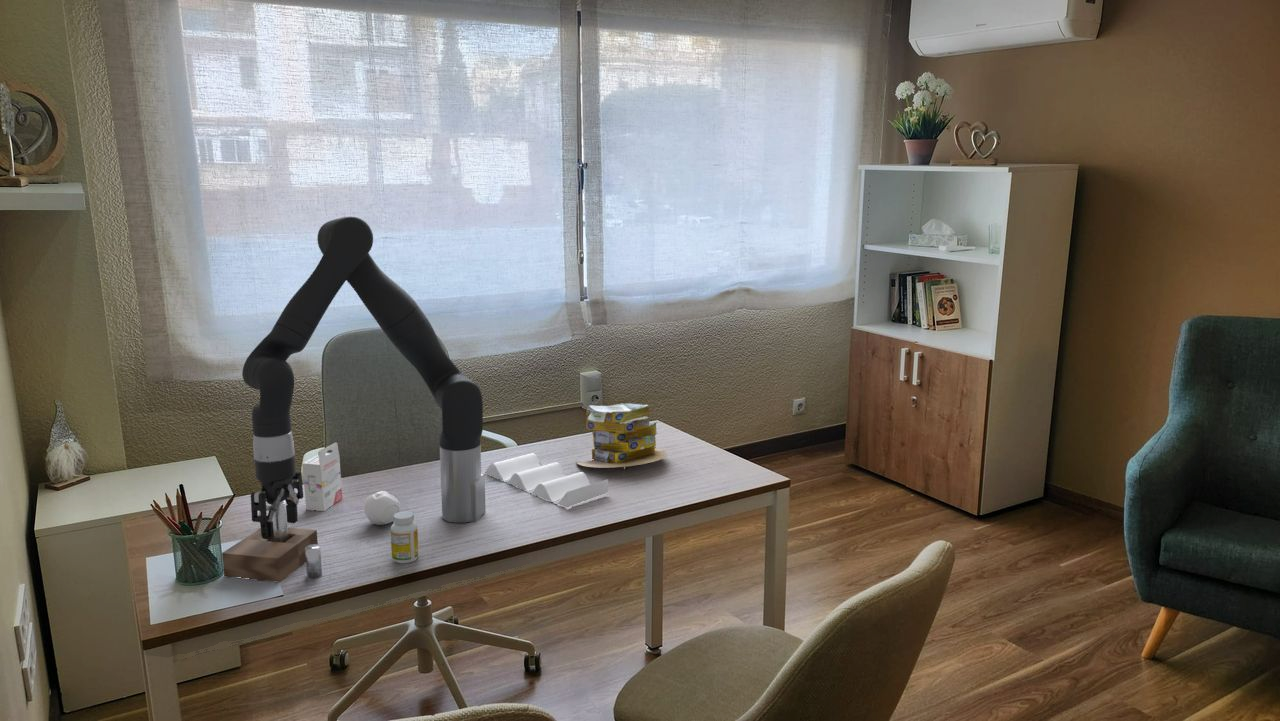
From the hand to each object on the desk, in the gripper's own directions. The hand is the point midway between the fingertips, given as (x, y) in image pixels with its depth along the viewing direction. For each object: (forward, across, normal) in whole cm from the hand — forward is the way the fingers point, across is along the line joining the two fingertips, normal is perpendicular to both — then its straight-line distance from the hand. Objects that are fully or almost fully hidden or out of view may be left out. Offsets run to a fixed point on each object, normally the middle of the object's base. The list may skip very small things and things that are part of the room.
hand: (280, 530), depth 177 cm
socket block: (+7, -2, +1) cm, 7 cm away
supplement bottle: (+7, +6, -24) cm, 26 cm away
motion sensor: (+7, +22, -11) cm, 26 cm away
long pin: (+7, 0, 0) cm, 7 cm away
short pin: (+7, -5, -10) cm, 13 cm away
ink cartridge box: (+7, +30, +8) cm, 32 cm away
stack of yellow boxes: (+7, +75, -56) cm, 93 cm away
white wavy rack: (+7, +54, -39) cm, 67 cm away
